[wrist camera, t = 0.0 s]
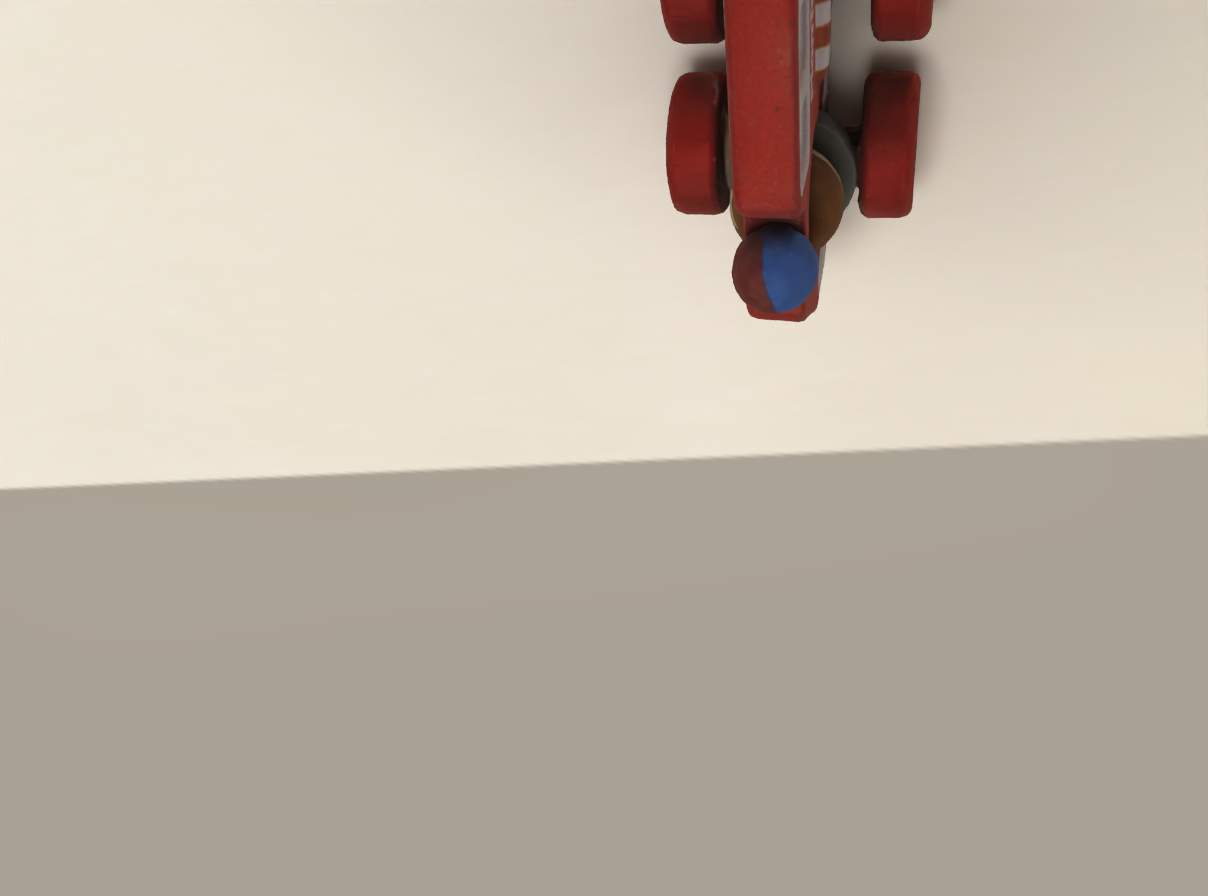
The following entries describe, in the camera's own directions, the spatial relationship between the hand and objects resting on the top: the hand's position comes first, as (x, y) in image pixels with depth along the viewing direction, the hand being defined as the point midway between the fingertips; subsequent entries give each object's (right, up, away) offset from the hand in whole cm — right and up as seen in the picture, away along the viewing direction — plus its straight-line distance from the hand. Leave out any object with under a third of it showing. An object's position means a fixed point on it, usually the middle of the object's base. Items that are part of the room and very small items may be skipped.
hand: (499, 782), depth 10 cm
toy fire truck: (+7, +15, +23) cm, 28 cm away
